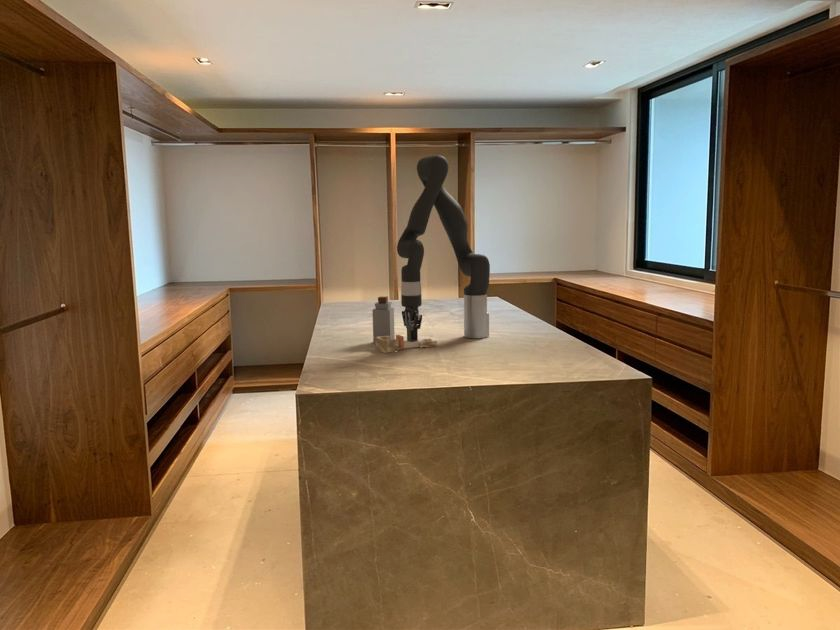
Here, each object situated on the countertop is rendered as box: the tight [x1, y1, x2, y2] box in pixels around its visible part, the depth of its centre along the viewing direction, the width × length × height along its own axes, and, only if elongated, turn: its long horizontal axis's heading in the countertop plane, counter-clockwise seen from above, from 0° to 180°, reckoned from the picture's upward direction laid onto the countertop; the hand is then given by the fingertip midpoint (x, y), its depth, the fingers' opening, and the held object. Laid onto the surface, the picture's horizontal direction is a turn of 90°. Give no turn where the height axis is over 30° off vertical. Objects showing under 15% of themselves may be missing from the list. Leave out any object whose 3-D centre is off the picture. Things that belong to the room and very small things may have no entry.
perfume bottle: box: [371, 296, 396, 344], centre depth 250 cm, size 7×7×18 cm
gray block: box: [395, 325, 425, 350], centre depth 241 cm, size 10×4×8 cm, turn 115°
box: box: [375, 336, 400, 354], centre depth 238 cm, size 5×9×4 cm, turn 25°
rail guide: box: [418, 337, 438, 349], centre depth 244 cm, size 7×6×2 cm
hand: (412, 338), depth 242 cm, fingers closed on gray block, 3 cm apart
